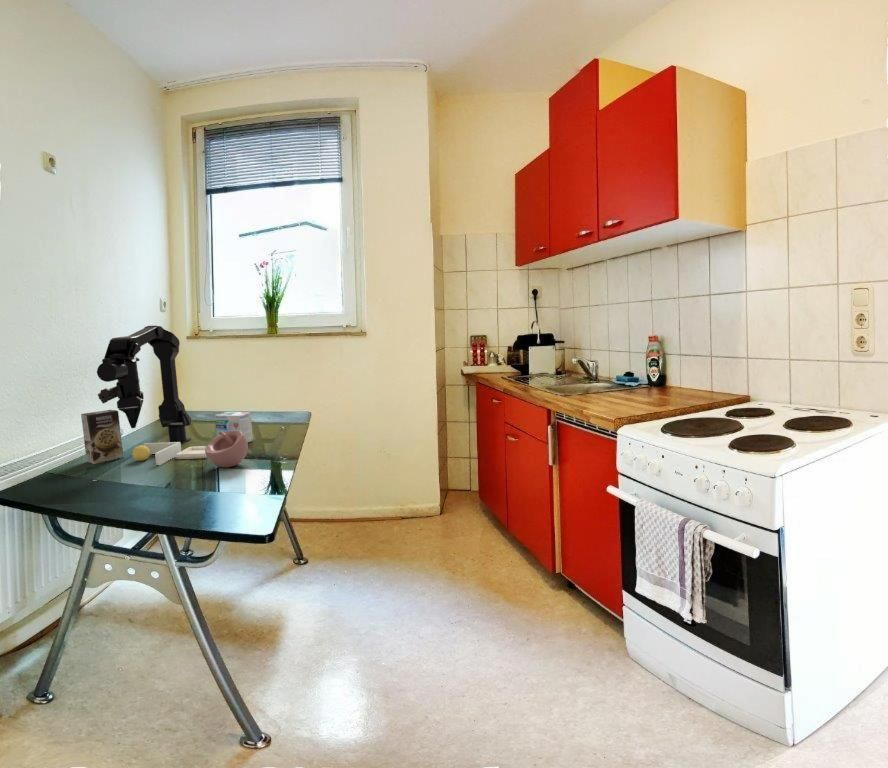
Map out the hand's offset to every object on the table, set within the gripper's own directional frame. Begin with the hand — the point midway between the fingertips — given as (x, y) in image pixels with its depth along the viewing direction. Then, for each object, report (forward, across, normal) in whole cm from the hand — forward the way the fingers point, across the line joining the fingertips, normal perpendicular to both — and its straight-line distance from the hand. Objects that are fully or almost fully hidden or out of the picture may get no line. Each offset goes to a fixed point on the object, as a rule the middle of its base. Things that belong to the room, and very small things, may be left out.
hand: (134, 425), depth 167 cm
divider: (+12, +1, +4) cm, 13 cm away
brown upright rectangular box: (+12, -10, -10) cm, 19 cm away
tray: (+12, +2, +17) cm, 21 cm away
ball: (+12, -1, +1) cm, 12 cm away
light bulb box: (+13, -9, +30) cm, 34 cm away
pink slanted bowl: (+12, +25, +25) cm, 37 cm away
